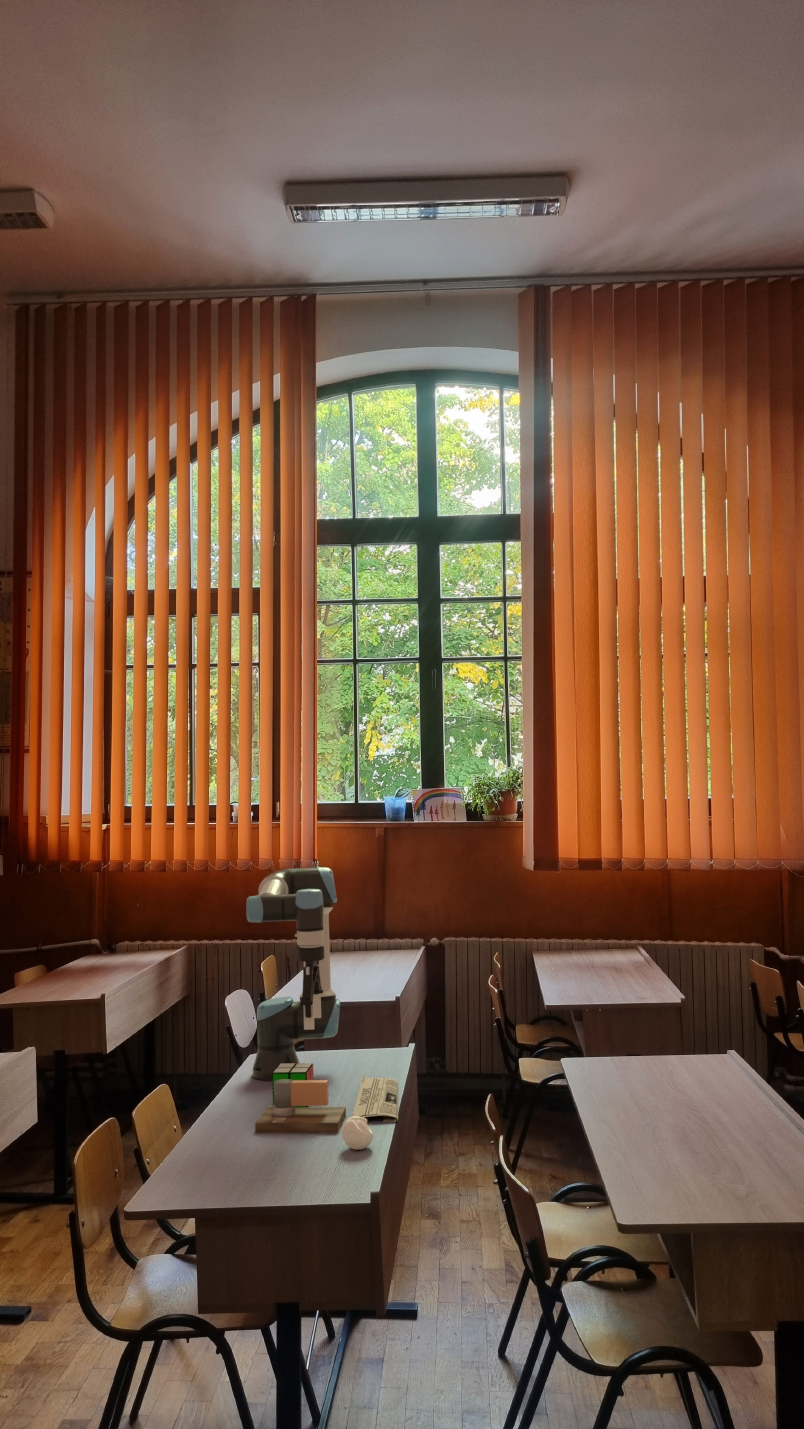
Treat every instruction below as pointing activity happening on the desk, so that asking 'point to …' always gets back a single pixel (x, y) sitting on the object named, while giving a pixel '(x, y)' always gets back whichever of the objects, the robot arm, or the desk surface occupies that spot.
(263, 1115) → the plate
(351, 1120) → the baseball
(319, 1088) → the lever
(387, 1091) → the newspaper
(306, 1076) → the puzzle cube
